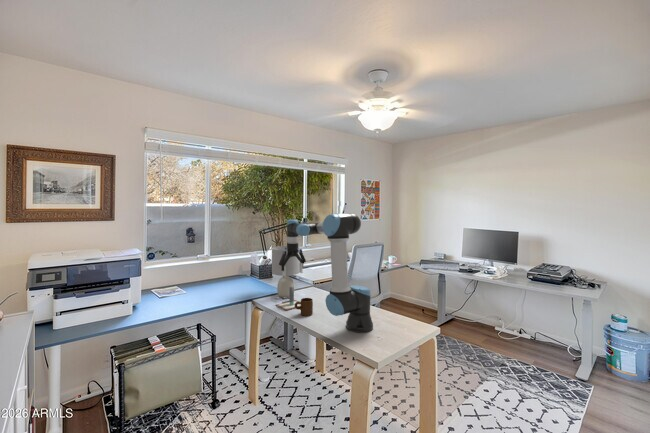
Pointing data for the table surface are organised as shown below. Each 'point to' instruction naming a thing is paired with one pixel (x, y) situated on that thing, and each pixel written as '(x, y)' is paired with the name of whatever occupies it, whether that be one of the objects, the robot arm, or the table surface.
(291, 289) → the marker
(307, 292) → the table surface
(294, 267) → the lamp
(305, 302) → the mug
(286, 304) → the clipboard
